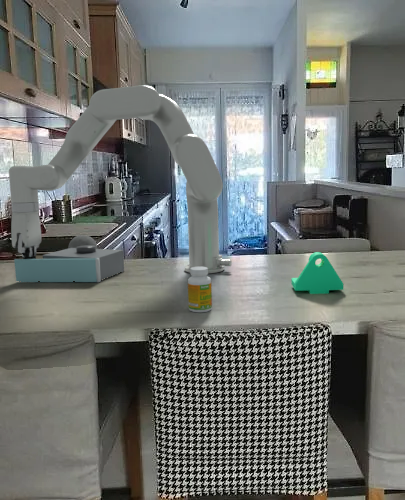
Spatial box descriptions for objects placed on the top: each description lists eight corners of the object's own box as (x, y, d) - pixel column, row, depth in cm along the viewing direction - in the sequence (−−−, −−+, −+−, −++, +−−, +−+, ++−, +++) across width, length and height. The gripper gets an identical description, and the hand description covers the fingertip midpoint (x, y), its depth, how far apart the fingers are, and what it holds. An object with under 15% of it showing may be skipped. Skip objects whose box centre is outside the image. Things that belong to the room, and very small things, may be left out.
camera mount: (335, 286, 128) (336, 248, 126) (343, 294, 121) (344, 253, 119) (290, 287, 129) (291, 249, 127) (295, 294, 121) (295, 254, 119)
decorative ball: (69, 261, 173) (67, 234, 171) (97, 259, 175) (96, 232, 174) (68, 266, 164) (66, 237, 162) (98, 264, 166) (96, 236, 164)
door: (101, 281, 140) (99, 258, 139) (100, 282, 139) (98, 259, 138) (18, 281, 143) (15, 258, 142) (16, 282, 142) (13, 259, 140)
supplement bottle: (201, 314, 106) (200, 271, 105) (183, 310, 110) (182, 268, 108) (216, 308, 110) (215, 267, 109) (199, 304, 114) (197, 264, 112)
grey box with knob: (124, 271, 153) (122, 245, 152) (99, 281, 140) (97, 252, 139) (72, 268, 161) (70, 243, 159) (44, 277, 148) (42, 250, 146)
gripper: (25, 206, 149) (30, 264, 152) (-1, 210, 134) (5, 274, 137) (48, 206, 148) (53, 264, 151) (25, 210, 133) (30, 275, 136)
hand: (30, 269), depth 144 cm, fingers closed
